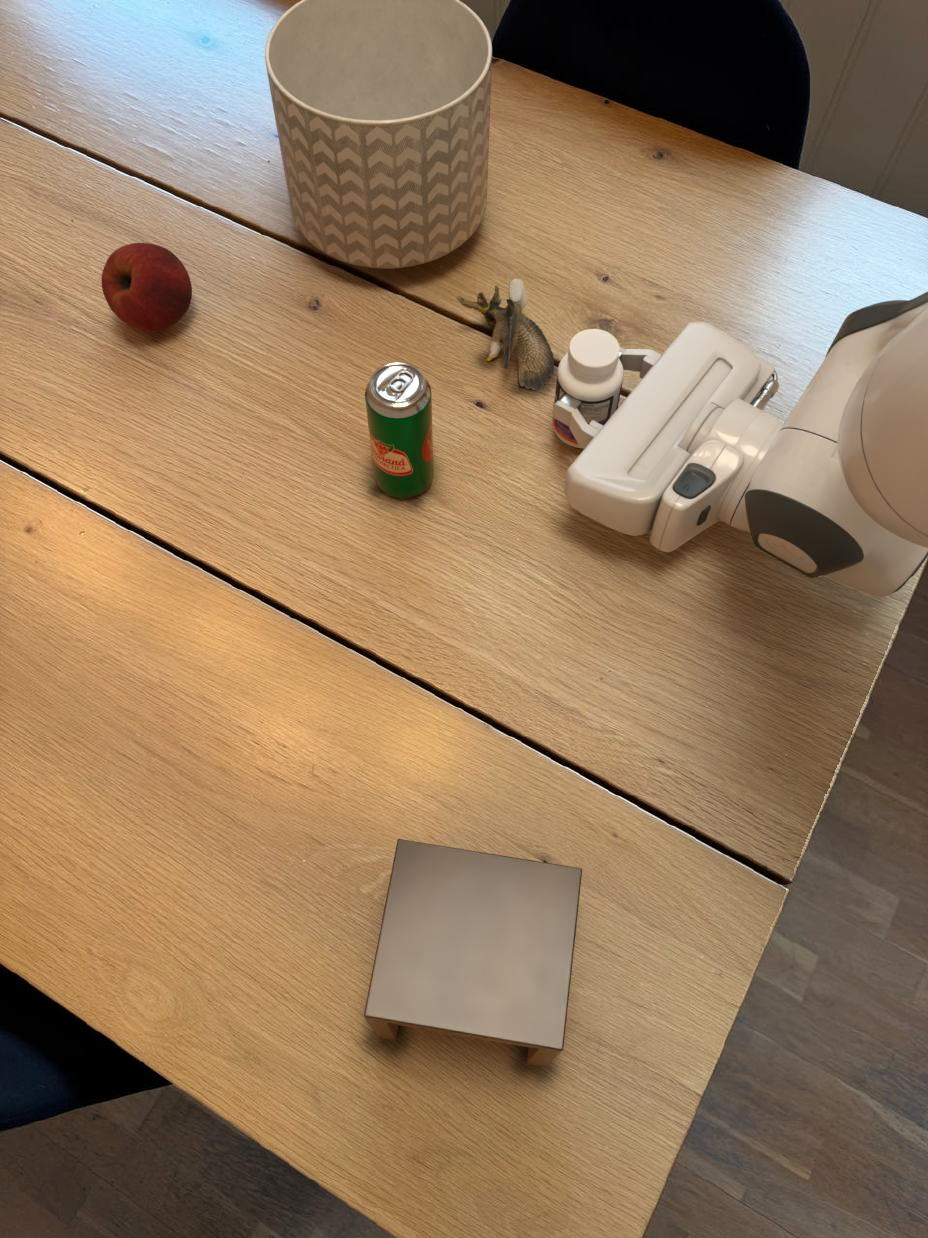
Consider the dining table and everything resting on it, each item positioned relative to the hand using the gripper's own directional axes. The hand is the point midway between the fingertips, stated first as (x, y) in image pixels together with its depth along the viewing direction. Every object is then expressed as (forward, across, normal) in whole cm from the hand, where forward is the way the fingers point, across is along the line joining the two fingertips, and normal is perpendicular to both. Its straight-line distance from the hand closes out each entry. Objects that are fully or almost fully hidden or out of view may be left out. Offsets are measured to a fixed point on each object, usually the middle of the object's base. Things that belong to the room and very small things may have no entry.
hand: (579, 378), depth 84 cm
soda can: (+9, +13, +7) cm, 17 cm away
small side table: (-20, +42, +7) cm, 47 cm away
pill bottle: (-1, 0, +6) cm, 6 cm away
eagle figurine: (+9, -4, +7) cm, 12 cm away
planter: (+28, -11, +6) cm, 31 cm away
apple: (+38, +12, +6) cm, 41 cm away
